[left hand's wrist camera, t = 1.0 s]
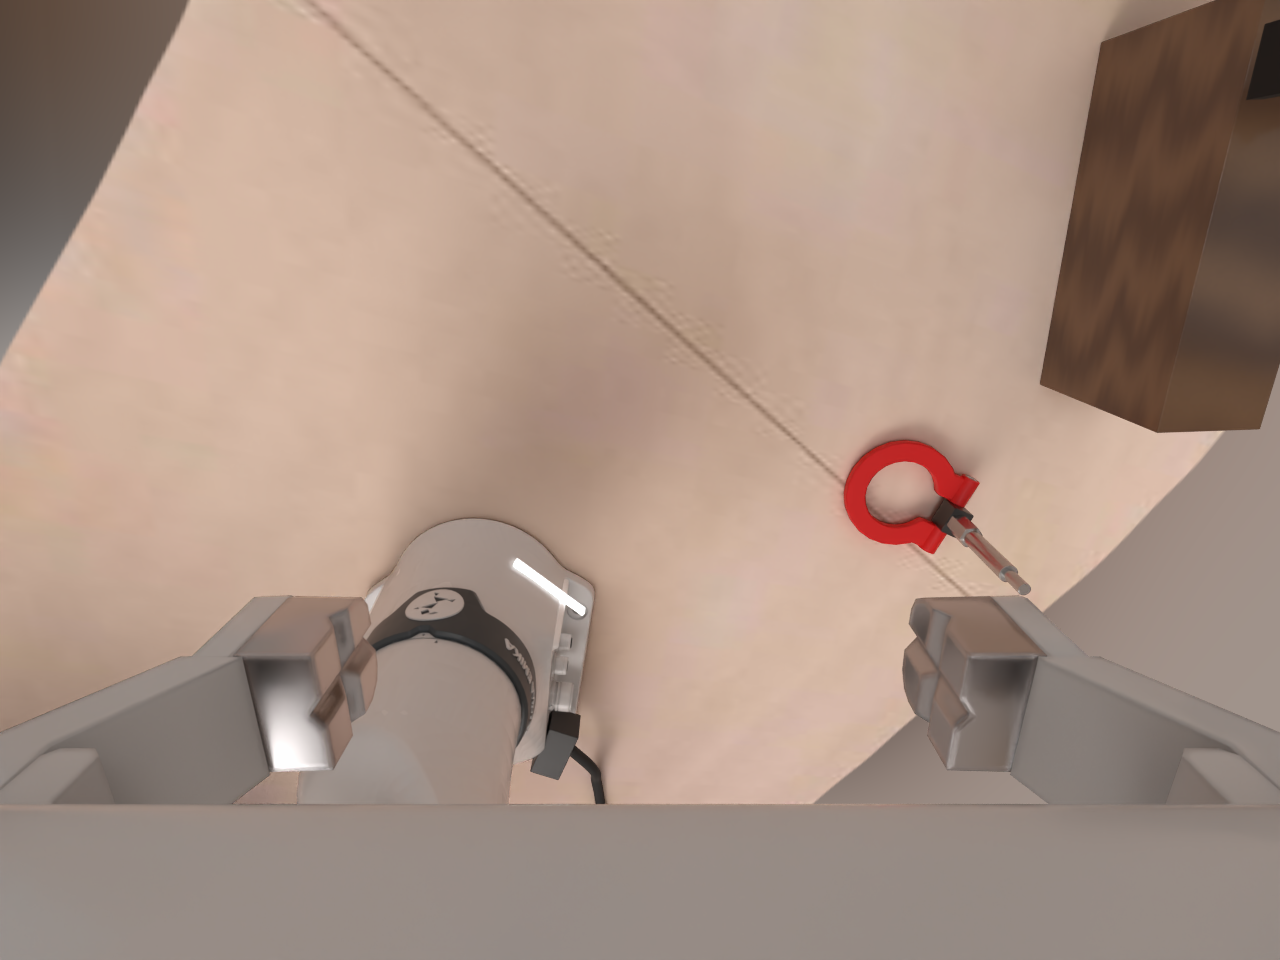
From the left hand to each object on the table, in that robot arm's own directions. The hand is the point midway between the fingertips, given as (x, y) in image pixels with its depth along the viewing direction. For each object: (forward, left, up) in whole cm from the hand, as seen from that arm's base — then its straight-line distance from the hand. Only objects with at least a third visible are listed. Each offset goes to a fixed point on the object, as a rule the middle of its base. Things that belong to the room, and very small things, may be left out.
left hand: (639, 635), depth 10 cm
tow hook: (-15, -20, -41) cm, 48 cm away
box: (+4, -33, -41) cm, 53 cm away
